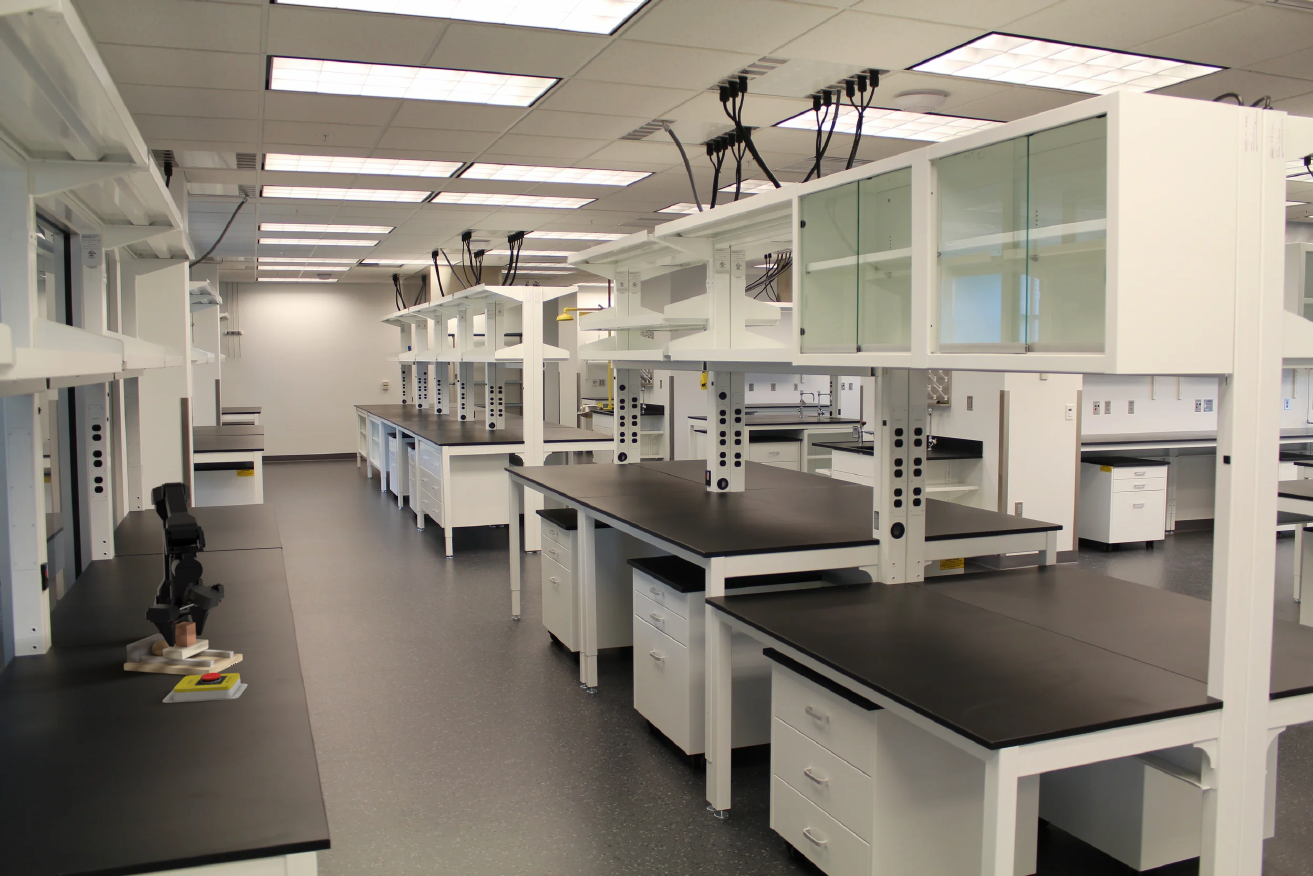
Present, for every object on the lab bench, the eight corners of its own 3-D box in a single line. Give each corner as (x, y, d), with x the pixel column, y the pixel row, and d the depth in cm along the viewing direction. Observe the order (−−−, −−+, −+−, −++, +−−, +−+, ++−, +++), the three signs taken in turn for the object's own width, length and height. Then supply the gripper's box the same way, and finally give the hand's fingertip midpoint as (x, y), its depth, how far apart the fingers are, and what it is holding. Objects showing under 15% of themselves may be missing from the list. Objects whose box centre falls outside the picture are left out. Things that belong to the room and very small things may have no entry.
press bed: (124, 670, 210) (123, 646, 209) (161, 654, 221) (160, 632, 221) (209, 676, 206) (208, 652, 205) (242, 660, 217) (242, 637, 217)
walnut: (148, 659, 213) (147, 642, 213) (160, 654, 217) (159, 637, 216) (163, 660, 212) (162, 643, 212) (175, 655, 216) (174, 638, 216)
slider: (163, 658, 209) (162, 628, 209) (189, 646, 218) (189, 618, 218) (182, 659, 208) (181, 629, 208) (208, 648, 217) (207, 619, 217)
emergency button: (237, 680, 192) (160, 684, 189) (237, 701, 192) (160, 705, 189) (248, 666, 201) (174, 670, 198) (248, 686, 201) (175, 690, 198)
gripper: (186, 586, 201) (188, 655, 202) (240, 568, 220) (241, 632, 221) (142, 583, 203) (144, 652, 204) (199, 566, 222) (200, 629, 223)
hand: (185, 641), depth 213 cm, fingers open, 9 cm apart
